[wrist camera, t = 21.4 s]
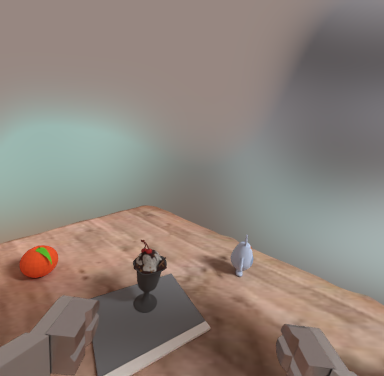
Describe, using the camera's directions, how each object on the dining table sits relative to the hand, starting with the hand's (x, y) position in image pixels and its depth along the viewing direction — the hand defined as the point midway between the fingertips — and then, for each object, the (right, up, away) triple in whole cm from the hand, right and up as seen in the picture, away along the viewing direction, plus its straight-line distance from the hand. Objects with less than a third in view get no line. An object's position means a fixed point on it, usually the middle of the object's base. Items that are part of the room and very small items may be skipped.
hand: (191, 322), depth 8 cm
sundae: (-10, -19, +32) cm, 39 cm away
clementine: (-35, -15, +36) cm, 52 cm away
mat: (-10, -20, +31) cm, 38 cm away
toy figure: (+14, -20, +48) cm, 54 cm away
